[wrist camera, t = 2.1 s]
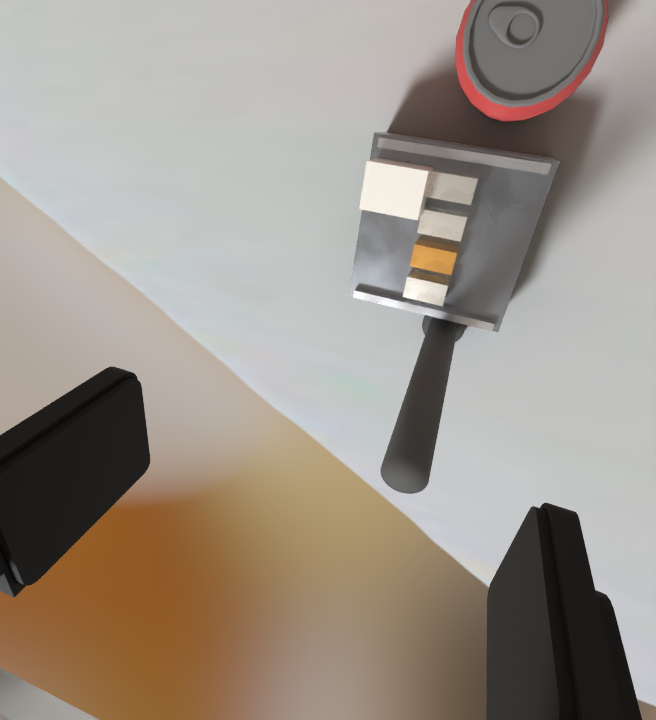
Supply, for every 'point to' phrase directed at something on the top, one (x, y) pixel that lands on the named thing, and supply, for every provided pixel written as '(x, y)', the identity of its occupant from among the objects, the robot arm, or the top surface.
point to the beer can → (527, 53)
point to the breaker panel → (481, 237)
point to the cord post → (421, 409)
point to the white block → (395, 188)
